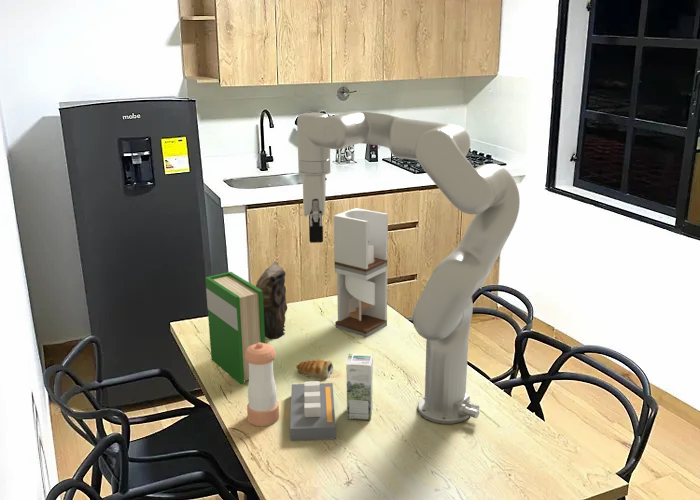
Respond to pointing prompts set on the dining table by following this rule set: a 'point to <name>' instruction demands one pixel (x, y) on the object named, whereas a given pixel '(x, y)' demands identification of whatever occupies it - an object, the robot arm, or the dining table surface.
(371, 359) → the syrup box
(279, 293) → the owl
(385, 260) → the white tower
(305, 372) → the pastry
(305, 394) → the middle paddle
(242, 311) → the hardback book
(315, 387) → the paddle
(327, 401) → the breaker panel
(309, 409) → the paddle
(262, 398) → the pepper shaker
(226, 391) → the dining table surface
